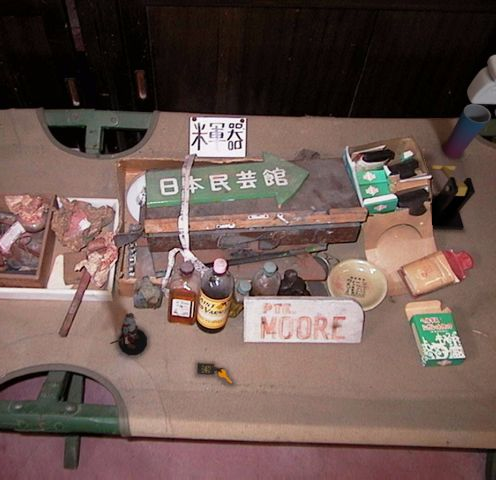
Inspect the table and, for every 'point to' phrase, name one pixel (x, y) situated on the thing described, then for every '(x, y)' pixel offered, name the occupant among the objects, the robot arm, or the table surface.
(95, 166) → the table surface
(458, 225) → the black slotted stand
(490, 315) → the table surface
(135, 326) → the figurine
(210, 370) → the key tag
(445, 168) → the lever
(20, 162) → the table surface
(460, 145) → the cup
